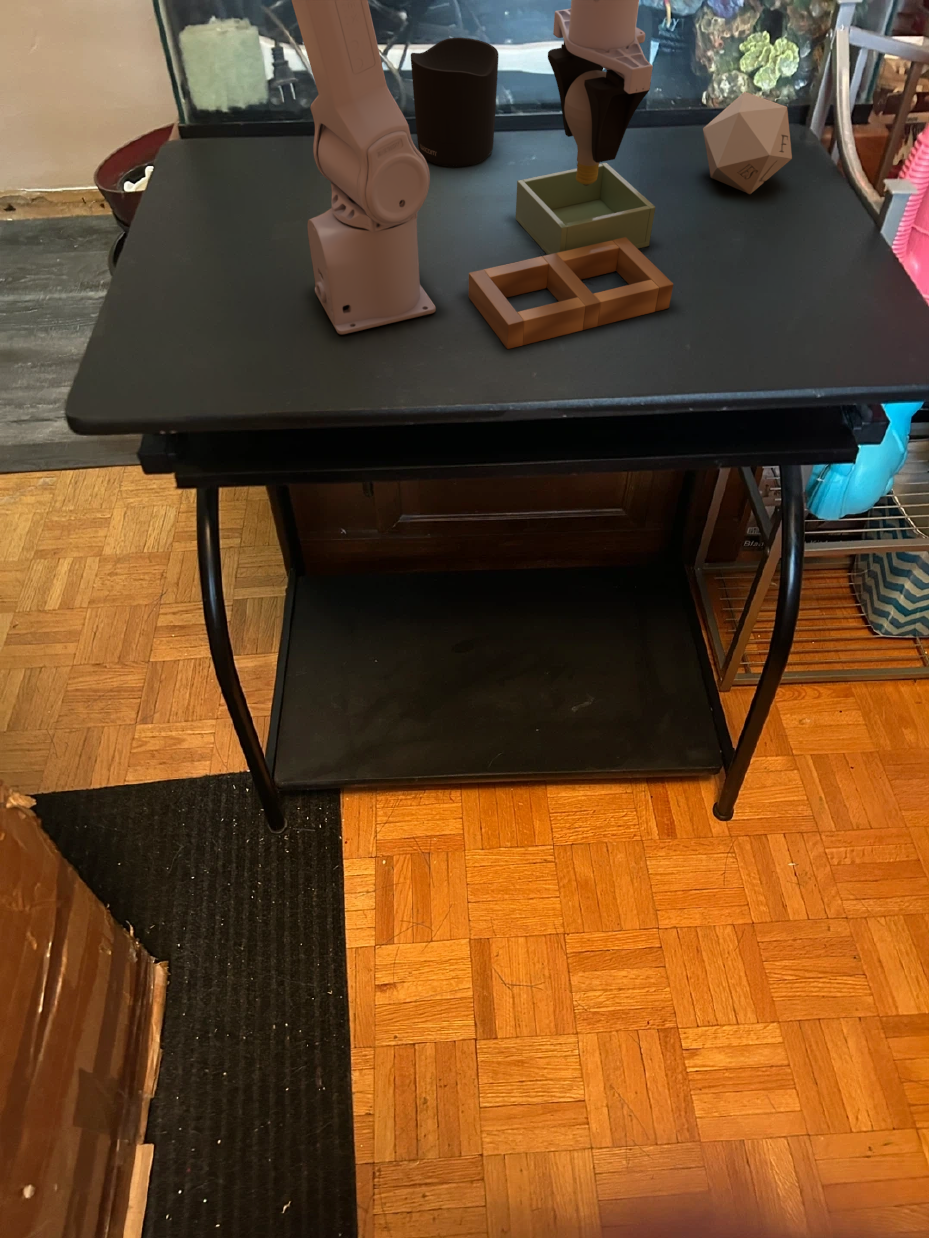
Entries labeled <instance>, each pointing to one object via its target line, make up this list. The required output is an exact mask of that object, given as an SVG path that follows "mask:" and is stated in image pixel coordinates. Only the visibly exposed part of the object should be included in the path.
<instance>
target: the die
mask: <svg viewBox="0 0 929 1238" xmlns="http://www.w3.org/2000/svg"><path fill="white" fill-rule="evenodd" d="M702 133H703V138H704V145H705V150H706V156H707V162H708V163H707V165H708V169H709V175H710V178H711V179H713V180H715V181H718V182H720V183H722V184H725V185H727V186H729V187H731V188H734V189H736V190H739V191H741V192H743V193H746V194H748V195H751V194H752V193H754V192H755V191H756V190H757V189H758V188H759V187H760V186H762V185H763V184H764V183H765V182H766V181H768V180H769V179H770V178H771V177H772V176H774V175H775V174H776V173H777V172H778V171H779V170H781V169H782V168H783V167H784V166H785V165H787V164H788V163H789V162H790V161H791V160H792V159H793V154H792V144H791V133H790V124H789V111H788V107H787V106H786V105H783V104H780V103H777V102H774V101H772V100H769V99H767V98H764V97H761V96H758V95H755V94H753V93H750V92H747V91H744V92H742V93H741V94H740V95H738V97H737V98H736V99H734V100H733V101H732V102H731V103H730V104H729V105H728V106H727V107H726V108H724V109H723V110H722V111H721V112H720V113H719V114H718V115H717V116H715V117H714V118H713V119H712V120H710V122H709V123H707V124H706V125H705V126H704V127H703V128H702Z"/></svg>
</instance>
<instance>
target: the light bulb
mask: <svg viewBox="0 0 929 1238" xmlns="http://www.w3.org/2000/svg"><path fill="white" fill-rule="evenodd" d="M599 77H605V78H606V71H604V70H603V71H599V70H594V71H588V72H585V73H583V74H582V75H580V76H579V77H577V78H576V79H575V81H574V82H573V83H572V84H571V86H570V88H569V90H568V92H567V95H566V97H565V106H564V110H565V118H566V121H567V123H568V126H569V128H570V130H571V132H572V135H573V136H572V137H573V139H574V142H575V143H576V147H577V155H576V161H577V163H576V166H577V167H576V169H577V175H576V180H577V181H578V182H579V183H581V184H583V185H584V186H588V185H589V184H592V183H594V182H595V181H596V180H597V176H598V168H599V167H598V166H599V164H601V162H599V163H596V162H595V161H594V160H593V156H592V118H591V109H590V103H589V99H588V95H587V92H586V89H585V86H584V82H585V80H588V79H593V78H599Z"/></svg>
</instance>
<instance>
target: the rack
mask: <svg viewBox="0 0 929 1238" xmlns="http://www.w3.org/2000/svg"><path fill="white" fill-rule="evenodd" d="M615 272H616V273H617V274H618V275H619V276H620V277H621V278H622V279H623V280H624V282H626V283H627V284H626V285H623V286H619V287H614V288H610V289H606V290H602V291H599V292H594V293H593V292H592V291H591V290H590V289H589V288H588V286H587V285H586V284H585V283H584V282H583V281H582V280H585V279H589V278H594V277H598V276H602V275H606V274H611V273H615ZM673 288H674V283H673V281H671V279H669V278H668V277H667V276H666V274H664V273H663V272H662V271H661V270H660V269H659V268H658V267H657V266H656V265H655V264H654V263H653V262H652V261H651V260H650V259H649V258H647V256H646V255H645V254H644V253H643V252H641V250H639V248H638V249H637V248H636V247H635V246H634V245H633V244H632V243H631V242H630V241H629V240H628V239H627V238H626V237H624V238H620V239H615V240H611V241H607V242H602V243H598V244H594V245H589V246H585V247H580V248H576V249H572V250H567V251H563V252H559V253H554V254H549V255H547V254H545V255H542V256H540V255H539V256H536V257H532V258H528V259H523V260H519V261H515V262H511V263H507V264H502V265H497V266H493V267H488V268H484V269H480V270H479V269H478V270H475V271H470V272H468V298H469V300H470V301H471V302H472V304H473V306H474V307H475V308H476V309H477V310H478V312H479V313H480V314H481V315H482V317H483V318H484V320H485V321H486V323H487V324H488V326H490V328H491V330H493V332H494V333H495V334H496V336H497V338H498V339H499V340H500V342H501V343H502V344H503V345H504V347H505V348H506V350H510V349H513V348H519V347H522V346H526V345H529V344H533V343H538V342H541V341H544V340H549V339H553V338H557V337H561V336H565V335H569V334H574V333H576V332H581V331H585V330H589V329H593V328H596V327H599V326H600V327H601V326H605V325H609V324H612V323H616V322H620V321H624V320H628V319H633V318H636V317H639V316H643V315H647V314H652V313H655V312H659V311H664V310H667V309H669V308H670V303H671V299H672V294H673V290H674V289H673ZM544 289H547V290H548V291H549V292H550V294H551V295H552V296H553V297H554V298H555V299H556V300H557V302H553V303H547V304H544V305H539V306H536V307H532V308H527V309H524V310H519V311H517V310H516V309H515V307H514V306H513V305H512V304H511V303H510V302H509V300H508V298H510V297H515V296H519V295H524V294H527V293H531V292H536V291H539V290H544Z"/></svg>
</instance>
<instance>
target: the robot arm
mask: <svg viewBox="0 0 929 1238" xmlns="http://www.w3.org/2000/svg"><path fill="white" fill-rule="evenodd" d="M291 3H292V7H293V10H294V13H295V14H294V15H295V18H296V21H297V24H298V28H299V31H300V35H301V38H302V42H303V45H304V48H305V51H306V56H307V60H308V62H309V65H310V69H311V72H312V76H313V79H314V83H315V86H316V90H317V93H318V94H317V96H316V97H315V99H314V100H313V101H312V103H310V104H311V105H310V111H311V115H312V118H313V123H314V137H313V145H312V147H313V148H312V151H313V159H314V162H315V165H316V167H317V170H318V171H319V172H320V174H321V175H322V176H323V177H324V178H325V179H326V180H328V181H329V182H330V189H331V199H330V201H331V208H329V209H328V210H326V211H324V212H323V213H321V214H318V215H316V216H314V217H311V218H308V220H307V227H306V228H307V238H308V245H309V252H310V257H311V265H312V271H313V277H314V284H315V286H314V293H315V295H316V297H317V298H318V300H319V302H320V304H321V306H322V307H323V309H324V311H325V313H326V315H327V317H328V318H329V320H330V322H331V324H332V325H333V328H334V329H335V331H336V334H339V335H347V334H351V333H355V332H359V331H363V330H367V329H372V328H376V327H380V326H385V325H388V324H393V323H398V322H402V321H406V320H410V319H414V318H418V317H422V316H423V317H424V316H427V315H431V314H434V313H436V311H437V307H436V305H435V304H434V302H433V301H432V299H431V298H430V296H429V295H428V294H427V292H426V291H425V289H424V288H423V286H422V285H421V282H420V280H421V279H420V263H419V261H420V260H419V243H418V241H419V240H418V223H417V222H418V220H417V219H418V212H419V211H420V209H421V207H422V206H423V205H424V203H425V201H426V199H427V197H428V193H429V190H430V185H431V184H430V183H431V182H430V181H431V175H430V168H429V165H428V163H427V160H426V159H425V158H424V157H423V155H422V154H421V153H420V151H419V149H418V147H416V145H415V144H414V142H413V139H412V135H411V131H410V125H409V124H408V121H407V120H406V117H405V115H404V114H403V112H402V110H401V109H400V106H399V105H398V103H397V102H396V100H395V98H394V96H393V95H392V93H391V91H390V90H389V87H388V85H387V80H386V77H385V71H384V67H383V62H382V58H381V54H380V49H379V45H378V40H377V35H376V31H375V27H374V23H373V19H372V14H371V10H370V4H369V0H291ZM639 5H640V0H571V1H570V8H566V9H560V10H555V11H554V18H553V33H552V34H553V36H554V37H555V38H557V39H563V43H562V44H561V45H560V47H557V48H552V49H550V50H548V51H547V60H548V62H549V64H550V65H549V66H550V68H551V70H552V72H553V75H554V77H555V79H554V80H555V82H556V87H557V90H558V94H559V100H560V107H561V114H562V115H561V117H562V123H563V128H564V129H563V130H564V133H565V136H567V137H568V138H570V137H573V135H572V132H571V130H570V128H569V126H568V123H567V121H566V118H565V110H564V106H565V97H566V95H567V92H568V90H569V88H570V86H571V84H572V83H573V82H574V81H575V79H576V78H577V77H579V76H580V75H582V74H583V73H585V72H588V71H594V70H599V71H604V69H605V70H606V71H605V72H606V78H605V77H599V78H593V79H588V80H585V82H584V86H585V89H586V92H587V95H588V99H589V103H590V109H591V118H592V156H593V160H594V161H595V162H596V163H599V162H600V163H605V162H609V161H613V160H615V159H616V157H617V155H618V152H619V150H620V148H621V145H622V142H623V139H624V137H625V133H626V131H627V129H628V126H629V124H630V122H631V120H632V118H633V116H634V114H635V112H636V111H637V109H638V107H639V105H640V104H641V102H642V101H643V100H644V98H645V97H646V96H647V95H648V93H649V92H650V90H651V84H652V82H651V80H652V76H653V75H652V74H653V68H654V65H653V64H651V62H649V61H648V60H647V58H646V55H644V52H643V50H642V47H641V45H640V44H643V43H644V42H645V40H646V33H645V31H644V30H642V29H640V28H639V27H637V22H638V13H639ZM600 163H599V164H600Z"/></svg>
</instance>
